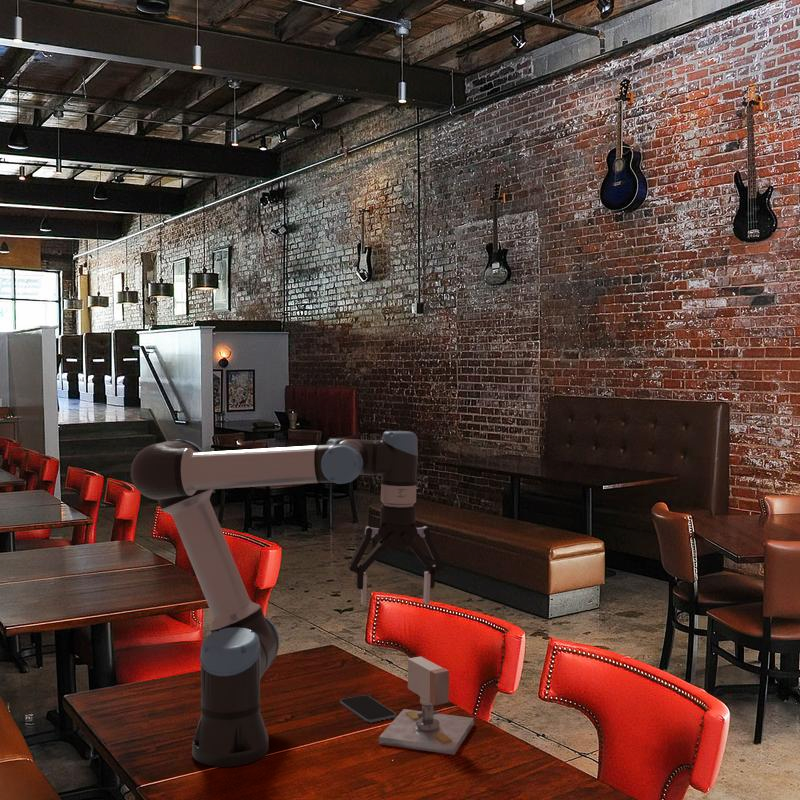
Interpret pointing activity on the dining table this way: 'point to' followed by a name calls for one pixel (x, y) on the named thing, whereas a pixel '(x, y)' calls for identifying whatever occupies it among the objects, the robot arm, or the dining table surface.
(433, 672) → the grey rectangular block
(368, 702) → the smartphone
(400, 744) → the socket
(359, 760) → the dining table surface
